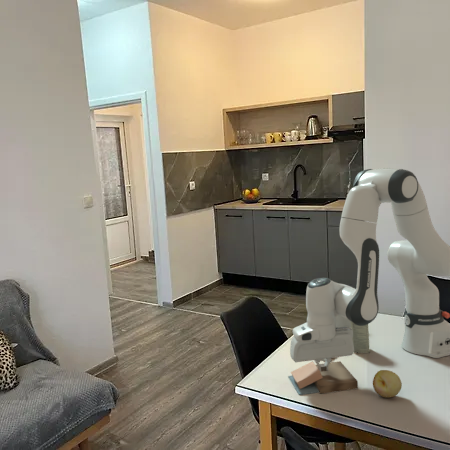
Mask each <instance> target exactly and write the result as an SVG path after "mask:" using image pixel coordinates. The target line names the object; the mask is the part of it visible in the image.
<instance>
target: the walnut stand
mask: <svg viewBox="0 0 450 450" xmlns="http://www.w3.org/2000/svg"><path fill="white" fill-rule="evenodd" d="M315 365H316V367H317V368H318V365H317V364H315ZM320 373H321V375H322V377H323V378H321V379H319V380H317V381H315V382H313V383H314V384H315V386H316V387H317V389H318V390H319V392H318V393H319V394H321V395H322V394H329V393H336V392H344V391H351V390H356V389H357V390H358V388H359V386H358V385H359V382H358V380H357V379H356V377H354V375H353V374H352V373H351V371H349V369H348V368H347V367H346V366H345V365H344V364H343V362H341V360H340V361H333V362H332V361H331V362H330V364H329V366H328V371H322V372H320Z"/></svg>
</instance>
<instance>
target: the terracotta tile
mask: <svg viewBox="0 0 450 450" xmlns="http://www.w3.org/2000/svg"><path fill="white" fill-rule="evenodd" d="M313 361H314V360H311V361H310V362H308V363H307V364H304V365H302V366H300V367H298V368H296V369H295V370H292V371H290V373H291V376H293V378H294V380H295V382H296V383H297V385H298V387H299V388H300V389H301V388H303V387H305V386H307V385H309V384H311V383H313V382H315V381H317V380H319V379H321V378H323V377H322V375H321V373H320V371H319V369H318V368H317V367H316V365H317V364H315V362H313Z"/></svg>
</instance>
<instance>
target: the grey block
mask: <svg viewBox="0 0 450 450" xmlns="http://www.w3.org/2000/svg"><path fill="white" fill-rule="evenodd" d="M335 326H336V328H337V327H345V326H347V327H349V328H351V322H350V320H348V319H347V318H345V317H343V316H341V315H337V316H336V317H335Z"/></svg>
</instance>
